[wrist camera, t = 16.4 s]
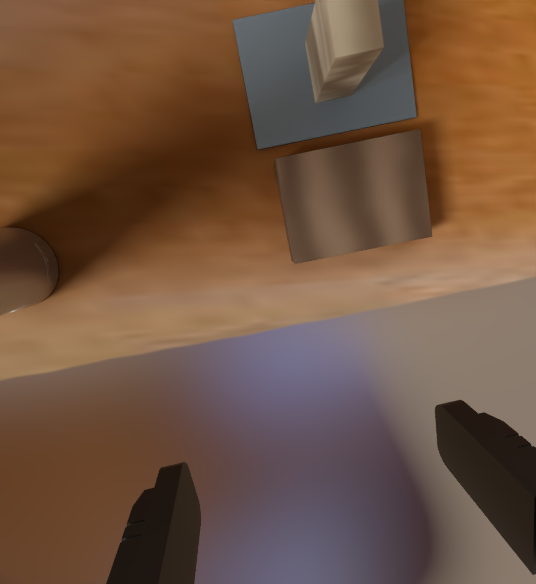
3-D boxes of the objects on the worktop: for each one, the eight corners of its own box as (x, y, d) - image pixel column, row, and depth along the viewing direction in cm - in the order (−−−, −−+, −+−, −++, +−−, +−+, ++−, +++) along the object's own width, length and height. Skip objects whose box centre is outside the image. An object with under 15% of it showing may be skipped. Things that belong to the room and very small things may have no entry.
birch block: (315, 103, 37) (335, 58, 28) (304, 43, 36) (322, -26, 27) (351, 95, 37) (384, 47, 28) (341, 35, 36) (372, -38, 26)
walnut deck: (291, 260, 41) (295, 263, 37) (274, 165, 39) (275, 158, 35) (415, 235, 41) (432, 236, 37) (404, 139, 39) (420, 128, 35)
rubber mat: (257, 149, 38) (257, 149, 38) (232, 22, 36) (232, 20, 36) (415, 117, 38) (416, 116, 38) (400, -13, 36) (402, -16, 36)
